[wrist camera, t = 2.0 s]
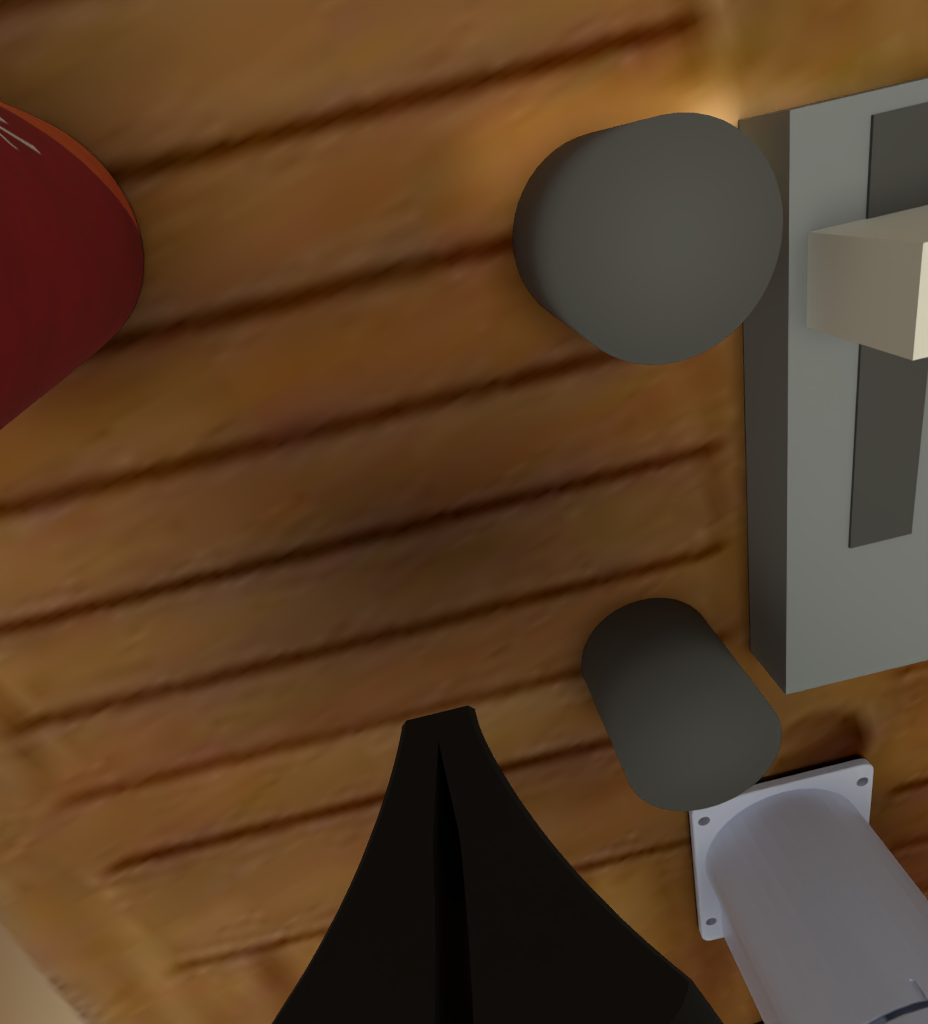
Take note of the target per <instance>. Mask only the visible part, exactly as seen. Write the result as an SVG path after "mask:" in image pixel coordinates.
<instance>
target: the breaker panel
mask: <svg viewBox="0 0 928 1024" xmlns="http://www.w3.org/2000/svg"><path fill="white" fill-rule="evenodd" d="M739 130H741V131H742V132H743V133H744V134H746V135H747V136H748V137H749V138H750V139H751V140H752V141H753V142H754V143H755V144H756V145H757V146H758V147H759V149H760V150H761V151H762V153H763V154H764V156H765V157H766V159H767V160H768V162H769V164H770V166H771V168H772V170H773V173H774V175H775V178H776V181H777V184H778V187H779V190H780V196H781V201H782V210H783V231H782V241H781V246H780V252H779V256H778V260H777V263H776V266H775V270H774V272H773V275H772V277H771V279H770V282H769V284H768V286H767V288H766V290H765V292H764V293H763V295H762V297H761V299H760V300H759V302H758V303H757V305H756V306H755V308H754V309H753V310H752V312H751V313H750V314H749V315H748V317H747V318H746V319H745V320H744V321H743V338H744V382H745V426H746V471H747V515H748V559H749V604H750V648H751V652H752V654H753V655H754V656H755V657H756V659H757V660H758V661H759V662H760V663H761V665H762V666H763V667H764V668H765V670H766V671H767V672H768V673H769V674H770V676H771V677H772V678H773V679H774V681H775V682H776V683H777V684H778V686H779V687H780V688H781V689H782V690H783V692H784V693H785V694H786V695H787V694H791V693H795V692H799V691H803V690H807V689H811V688H815V687H819V686H823V685H827V684H832V683H836V682H840V681H844V680H848V679H852V678H856V677H860V676H864V675H868V674H872V673H876V672H880V671H884V670H888V669H893V668H897V667H901V666H905V665H909V664H913V663H917V662H921V661H925V660H928V77H924V78H919V79H915V80H911V81H907V82H902V83H898V84H894V85H889V86H885V87H881V88H876V89H872V90H868V91H863V92H859V93H855V94H850V95H846V96H842V97H838V98H833V99H829V100H825V101H820V102H816V103H812V104H807V105H803V106H799V107H794V108H790V109H786V110H781V111H777V112H773V113H769V114H764V115H760V116H756V117H751V118H747V119H743V120H739Z"/></svg>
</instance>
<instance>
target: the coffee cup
mask: <svg viewBox="0 0 928 1024" xmlns="http://www.w3.org/2000/svg"><path fill="white" fill-rule="evenodd" d="M143 271H144V255H143V246H142V240H141V236H140V232H139V228H138V225H137V222H136V219H135V216H134V214H133V211H132V209H131V207H130V205H129V203H128V201H127V199H126V197H125V195H124V193H123V192H122V190H121V188H120V187H119V185H118V184H117V182H116V181H115V180H114V178H113V177H112V176H111V174H110V173H109V172H108V171H107V169H106V168H105V167H104V166H103V165H102V164H101V163H100V162H99V161H98V160H97V159H96V157H95V156H93V155H92V154H91V153H90V152H89V151H88V150H87V149H86V148H84V147H83V146H82V145H81V144H80V143H78V142H77V141H76V140H74V139H73V138H72V137H70V136H69V135H67V134H66V133H64V132H63V131H61V130H60V129H58V128H56V127H55V126H53V125H51V124H49V123H47V122H45V121H43V120H41V119H39V118H37V117H35V116H33V115H30V114H28V113H26V112H24V111H21V110H19V109H16V108H14V107H12V106H9V105H7V104H4V103H2V102H0V429H2V428H3V427H4V426H5V425H7V424H8V423H9V422H10V421H12V420H13V419H14V418H15V417H17V416H18V415H19V414H20V413H22V412H23V411H24V410H25V409H27V408H28V407H29V406H30V405H32V404H33V403H34V402H35V401H37V400H38V399H39V398H40V397H42V396H43V395H44V394H45V393H47V392H48V391H49V390H50V389H52V388H53V387H54V386H55V385H57V384H58V383H59V382H60V381H62V380H63V379H64V378H65V377H66V376H68V375H69V374H70V373H71V372H73V371H74V370H75V369H76V368H77V367H79V366H80V365H81V364H82V363H84V362H85V361H86V360H87V359H88V358H90V357H91V356H92V355H93V354H94V353H95V352H97V351H98V350H99V349H100V348H101V347H102V346H103V345H105V344H106V343H107V342H108V341H109V340H110V339H111V338H112V337H113V336H114V335H115V334H116V333H117V332H118V331H119V329H120V328H121V327H122V326H123V325H124V323H125V322H126V320H127V319H128V318H129V316H130V314H131V312H132V310H133V308H134V306H135V304H136V302H137V299H138V296H139V293H140V290H141V286H142V280H143Z"/></svg>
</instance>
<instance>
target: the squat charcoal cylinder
mask: <svg viewBox="0 0 928 1024" xmlns="http://www.w3.org/2000/svg"><path fill="white" fill-rule="evenodd" d="M782 231H783V210H782V201H781V196H780V190H779V187H778V184H777V181H776V178H775V175H774V173H773V170H772V168H771V166H770V164H769V162H768V160H767V159H766V157H765V156H764V154H763V153H762V151H761V150H760V149H759V147H758V146H757V145H756V144H755V143H754V142H753V141H752V140H751V139H750V138H749V137H748V136H747V135H746V134H744V133H743V132H742V131H741V130H739V129H738V128H737V127H735V126H733V125H731V124H729V123H727V122H725V121H724V120H721V119H718V118H715V117H712V116H709V115H704V114H698V113H672V114H665V115H660V116H656V117H652V118H648V119H644V120H640V121H636V122H632V123H628V124H625V125H621V126H617V127H613V128H609V129H605V130H601V131H597V132H593V133H589V134H586V135H583V136H580V137H577V138H575V139H573V140H571V141H569V142H567V143H565V144H564V145H562V146H561V147H559V148H557V149H556V150H555V151H554V152H552V153H551V154H550V155H549V156H548V157H547V158H546V159H545V160H544V161H543V162H542V163H541V164H540V165H539V166H538V167H537V169H536V170H535V172H534V173H533V174H532V176H531V177H530V179H529V181H528V182H527V184H526V186H525V188H524V190H523V192H522V195H521V197H520V200H519V202H518V206H517V210H516V213H515V219H514V226H513V248H514V256H515V260H516V265H517V268H518V271H519V273H520V276H521V278H522V280H523V282H524V284H525V286H526V288H527V289H528V291H529V292H530V293H531V295H532V296H533V297H534V298H535V300H536V301H537V302H538V303H539V304H540V305H541V306H543V307H544V308H545V309H546V310H547V311H549V312H550V313H551V314H553V315H554V316H555V317H557V318H558V319H559V320H561V321H562V322H564V323H565V324H566V325H568V326H569V327H570V328H572V329H573V330H574V331H576V332H577V333H578V334H580V335H581V336H582V337H584V338H585V339H587V340H588V341H589V342H591V343H592V344H593V345H595V346H596V347H597V348H599V349H601V350H602V351H604V352H606V353H607V354H609V355H611V356H613V357H616V358H618V359H621V360H624V361H628V362H632V363H636V364H646V365H659V364H668V363H674V362H679V361H682V360H685V359H689V358H691V357H694V356H696V355H698V354H701V353H703V352H705V351H707V350H708V349H710V348H712V347H713V346H715V345H717V344H718V343H719V342H721V341H722V340H724V339H725V338H726V337H728V336H729V335H730V334H731V333H732V332H733V331H734V330H735V329H736V328H738V327H739V326H740V325H741V324H742V322H743V321H744V320H745V319H746V318H747V317H748V315H749V314H750V313H751V312H752V310H753V309H754V308H755V306H756V305H757V303H758V302H759V300H760V299H761V297H762V295H763V293H764V292H765V290H766V288H767V286H768V284H769V282H770V279H771V277H772V275H773V272H774V270H775V266H776V263H777V260H778V256H779V252H780V246H781V241H782Z"/></svg>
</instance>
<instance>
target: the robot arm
mask: <svg viewBox="0 0 928 1024" xmlns="http://www.w3.org/2000/svg"><path fill="white" fill-rule="evenodd" d="M873 773H874V769H873V766H872V765H871V764H870V763H869V762H868V761H867V760H866V759H856V760H852V761H848V762H844V763H840V764H836V765H832V766H827V767H823V768H819V769H815V770H811V771H807V772H803V773H799V774H795V775H791V776H787V777H783V778H779V779H775V780H771V781H767V782H763V783H759V784H755V785H753V786H752V787H750V788H749V789H748V790H746V791H745V792H743V793H742V794H740V795H738V796H737V797H735V798H733V799H731V800H729V801H727V802H724V803H722V804H719V805H716V806H713V807H710V808H706V809H701V810H694V811H689V818H690V830H691V842H692V854H693V866H694V878H695V890H696V902H697V913H698V925H699V931H700V934H701V936H702V938H703V939H705V940H708V941H710V940H715V939H719V938H723V937H724V938H725V940H726V942H727V945H728V947H729V949H730V951H731V953H732V955H733V957H734V960H735V962H736V964H737V966H738V968H739V970H740V972H741V975H742V977H743V979H744V981H745V983H746V985H747V987H748V990H749V992H750V994H751V996H752V998H753V1000H754V1003H755V1005H756V1007H757V1009H758V1011H759V1013H760V1015H761V1018H762V1020H763V1022H764V1024H928V900H927V898H926V897H925V896H924V895H923V893H922V892H921V891H920V889H919V888H918V887H917V886H916V884H915V883H914V882H913V880H912V879H911V878H910V877H909V875H908V874H907V873H906V871H905V870H904V869H903V868H902V866H901V865H900V864H899V862H898V861H897V860H896V859H895V857H894V856H893V855H892V853H891V852H890V851H889V850H888V848H887V847H886V846H885V844H884V843H883V842H882V841H881V839H880V838H879V837H878V835H877V834H876V833H875V832H874V830H873V829H872V828H871V826H870V825H869V819H870V807H871V796H872V784H873ZM272 1024H723V1023H722V1021H721V1020H720V1018H719V1017H718V1015H717V1014H716V1013H715V1011H714V1010H713V1008H712V1007H711V1006H710V1004H709V1003H708V1002H707V1000H706V999H705V997H704V996H703V995H702V993H701V992H700V991H699V989H698V988H697V987H696V985H695V984H694V982H693V981H692V980H691V979H690V978H689V977H688V976H686V975H685V974H684V973H683V972H682V971H680V970H679V969H678V968H677V967H675V966H674V965H673V964H672V963H671V962H669V961H668V960H667V959H666V958H665V957H664V956H662V955H661V954H660V953H659V952H658V951H657V950H655V949H654V948H653V947H652V946H651V945H650V944H649V943H647V942H646V941H645V940H644V939H643V938H642V937H641V936H640V935H639V934H638V933H637V932H635V931H634V930H633V929H632V928H631V927H630V926H629V925H628V924H627V923H626V922H625V921H624V920H622V919H621V918H620V917H619V916H618V915H617V914H616V913H615V912H614V910H613V909H612V908H611V907H610V906H609V905H608V904H607V903H606V902H605V901H604V900H603V899H602V898H601V897H600V896H599V895H598V894H597V893H596V892H595V891H594V890H593V889H592V888H591V887H590V886H589V885H588V884H587V883H586V882H585V881H584V880H583V879H582V878H581V876H580V875H579V874H578V873H577V872H576V871H575V870H574V869H573V867H572V866H571V865H570V864H569V863H568V862H567V861H566V859H565V858H564V857H563V856H562V855H561V853H560V852H559V851H558V850H557V849H556V847H555V846H554V845H553V844H552V843H551V841H550V840H549V839H548V838H547V836H546V835H545V834H544V832H543V831H542V830H541V828H540V827H539V826H538V824H537V823H536V822H535V820H534V819H533V818H532V816H531V815H530V813H529V812H528V811H527V809H526V808H525V806H524V805H523V804H522V802H521V801H520V799H519V798H518V796H517V795H516V793H515V792H514V790H513V789H512V787H511V785H510V784H509V782H508V780H507V779H506V777H505V776H504V774H503V772H502V771H501V769H500V767H499V766H498V764H497V762H496V760H495V758H494V757H493V755H492V753H491V751H490V749H489V747H488V745H487V743H486V741H485V738H484V736H483V734H482V732H481V729H480V727H479V724H478V720H477V716H476V712H475V709H474V708H472V707H470V706H464V707H460V708H456V709H452V710H448V711H444V712H440V713H436V714H432V715H427V716H423V717H419V718H415V719H411V720H407V721H406V722H405V723H404V725H403V726H402V731H401V737H400V742H399V746H398V751H397V755H396V759H395V763H394V766H393V770H392V774H391V777H390V781H389V784H388V787H387V790H386V793H385V797H384V800H383V803H382V806H381V809H380V812H379V815H378V818H377V821H376V823H375V826H374V829H373V831H372V834H371V836H370V839H369V842H368V844H367V847H366V849H365V852H364V854H363V857H362V859H361V862H360V864H359V867H358V869H357V871H356V873H355V876H354V878H353V880H352V882H351V885H350V887H349V889H348V891H347V893H346V895H345V897H344V899H343V902H342V904H341V906H340V908H339V910H338V912H337V914H336V916H335V918H334V920H333V921H332V923H331V925H330V927H329V929H328V931H327V933H326V935H325V936H324V938H323V940H322V942H321V944H320V946H319V948H318V949H317V951H316V953H315V955H314V956H313V958H312V960H311V962H310V963H309V965H308V967H307V969H306V970H305V972H304V974H303V975H302V977H301V978H300V980H299V982H298V983H297V985H296V986H295V988H294V989H293V991H292V993H291V994H290V996H289V997H288V999H287V1001H286V1002H285V1004H284V1005H283V1007H282V1008H281V1010H280V1012H279V1013H278V1015H277V1016H276V1018H275V1019H274V1021H273V1023H272Z"/></svg>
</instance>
